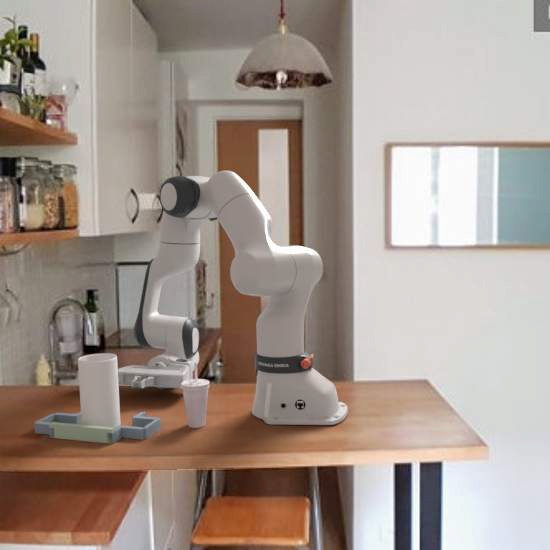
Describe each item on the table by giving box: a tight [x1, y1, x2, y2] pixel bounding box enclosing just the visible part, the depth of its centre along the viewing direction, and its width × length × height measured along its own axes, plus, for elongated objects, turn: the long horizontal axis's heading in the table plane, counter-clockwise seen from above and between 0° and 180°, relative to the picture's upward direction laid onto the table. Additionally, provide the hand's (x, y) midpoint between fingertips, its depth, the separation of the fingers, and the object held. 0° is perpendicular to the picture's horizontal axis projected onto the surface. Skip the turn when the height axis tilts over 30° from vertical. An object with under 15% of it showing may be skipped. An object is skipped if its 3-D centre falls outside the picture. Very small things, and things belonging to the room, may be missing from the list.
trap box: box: [34, 410, 162, 445], centre depth 125 cm, size 26×14×3 cm, turn 73°
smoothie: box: [180, 362, 211, 429], centre depth 126 cm, size 6×6×14 cm
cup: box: [77, 352, 121, 428], centre depth 125 cm, size 8×8×16 cm
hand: (136, 385), depth 140 cm, fingers closed
